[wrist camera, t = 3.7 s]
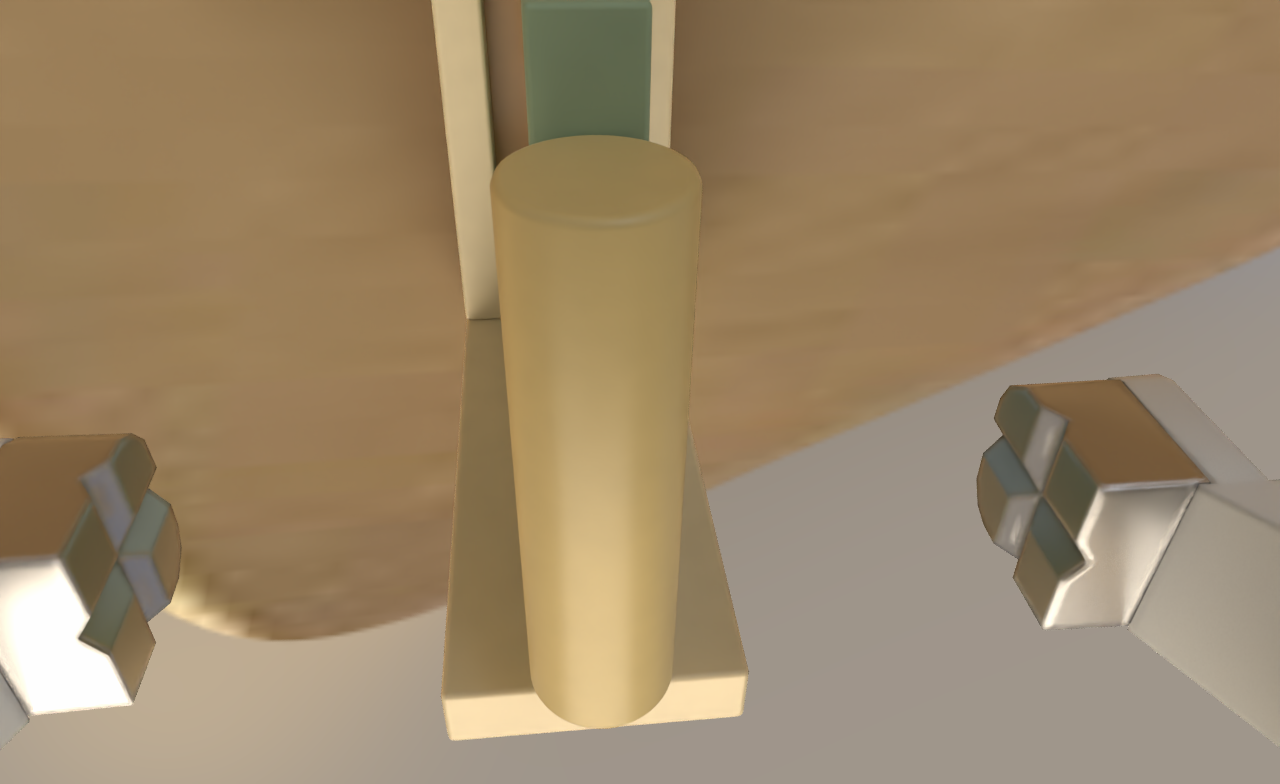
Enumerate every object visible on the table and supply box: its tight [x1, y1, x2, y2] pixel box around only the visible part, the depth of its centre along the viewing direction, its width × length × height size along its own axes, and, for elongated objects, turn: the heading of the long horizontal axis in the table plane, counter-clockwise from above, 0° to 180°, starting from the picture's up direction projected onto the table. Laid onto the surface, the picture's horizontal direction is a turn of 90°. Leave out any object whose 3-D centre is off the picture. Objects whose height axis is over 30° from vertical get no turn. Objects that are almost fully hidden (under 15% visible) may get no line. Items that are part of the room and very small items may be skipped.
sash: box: [490, 0, 703, 729], centre depth 13 cm, size 2×8×11 cm, turn 179°
